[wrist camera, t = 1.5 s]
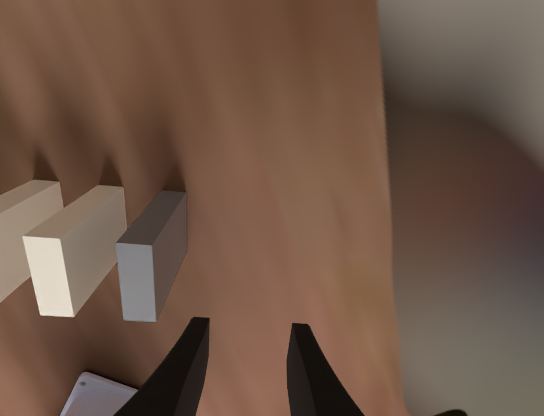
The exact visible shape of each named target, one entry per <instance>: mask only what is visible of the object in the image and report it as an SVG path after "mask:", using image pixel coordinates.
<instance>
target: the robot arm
mask: <svg viewBox="0 0 544 416" xmlns="http://www.w3.org/2000/svg"><path fill="white" fill-rule="evenodd" d="M209 321H210V318H203V317H193V318H192V319H191V320H190V322H189V324H188V326H187V327H186V329H185V331H184V332H183V334H182V335H181V337H180V338H179V340H178V341H177V343H176V344H175V345H174V347H173V348H172V349H171V351H170V352H169V354H168V355H167V356H166V358H165V359H164V360H163V362H162V363H161V364H160V365H159V366H158V368H157V369H156V370H155V371H154V372H153V374H152V375H151V376H150V377H149V379H148V380H147V381H146V382H145V383H144V384H143V385H142V386H141V388H140V389H139V390H137V389H134V388H131V387H128V386H125V385H123V384H120V383H117V382H114V381H112V380H109V379H106V378H103V377H100V376H98V375H95V374H92V373H89V372H83V373H82V374H81V375H80V376H79V378H78V380H77V382H76V384H75V386H74V388H73V390H72V392H71V394H70V396H69V398H68V400H67V402H66V404H65V406H64V408H63V410H62V412H61V414H60V416H195V415H196V412H197V408H198V404H199V400H200V397H201V393H202V389H203V385H204V381H205V375H206V369H207V363H208V357H209ZM287 389H288V396H289V404H290V412H291V416H365V415H364V414H363V413H362V412H361V410H360V409H359V408H358V406H357V405H356V404H355V402H354V401H353V400H352V398H351V397H350V396H349V394H348V393H347V391H346V390H345V388H344V387H343V385H342V384H341V382H340V381H339V379H338V378H337V376H336V375H335V373H334V371H333V370H332V368H331V366H330V365H329V363H328V361H327V360H326V358H325V356H324V354H323V352H322V351H321V349H320V347H319V345H318V343H317V341H316V339H315V337H314V335H313V333H312V331H311V328H310V326H309V325H308V324H300V323H292V329H291V335H290V342H289V348H288V355H287Z"/></svg>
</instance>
